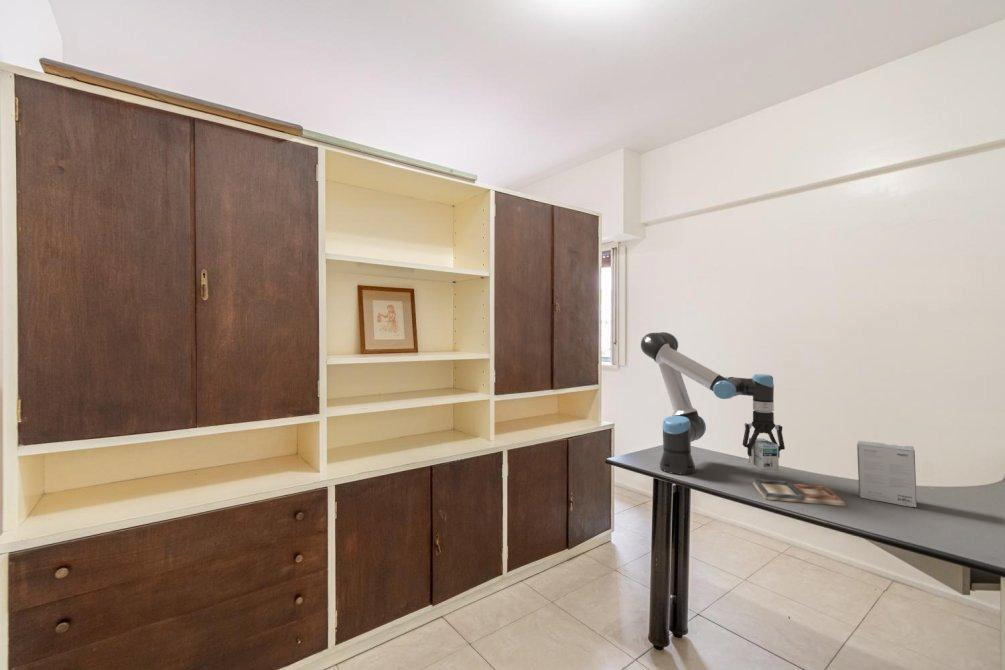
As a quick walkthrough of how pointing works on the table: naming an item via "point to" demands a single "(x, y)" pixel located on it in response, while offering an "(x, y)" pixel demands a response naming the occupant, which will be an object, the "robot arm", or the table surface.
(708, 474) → the table surface
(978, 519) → the table surface
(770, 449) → the light bulb box
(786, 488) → the sorting board
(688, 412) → the robot arm
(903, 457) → the hard drive box
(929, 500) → the table surface
